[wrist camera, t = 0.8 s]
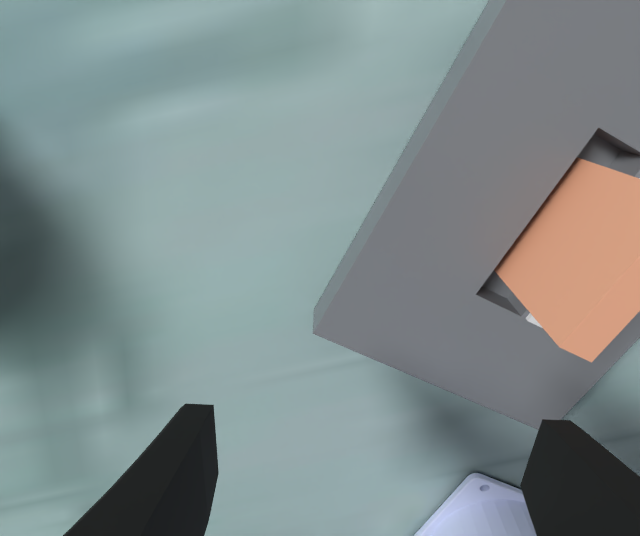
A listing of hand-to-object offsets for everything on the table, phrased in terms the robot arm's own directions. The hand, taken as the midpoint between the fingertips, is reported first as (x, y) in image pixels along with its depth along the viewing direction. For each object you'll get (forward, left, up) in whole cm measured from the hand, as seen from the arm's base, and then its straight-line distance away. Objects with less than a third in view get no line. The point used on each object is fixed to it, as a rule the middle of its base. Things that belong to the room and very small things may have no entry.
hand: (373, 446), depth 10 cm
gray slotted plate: (-6, -5, -10) cm, 13 cm away
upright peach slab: (-6, -5, -9) cm, 12 cm away
